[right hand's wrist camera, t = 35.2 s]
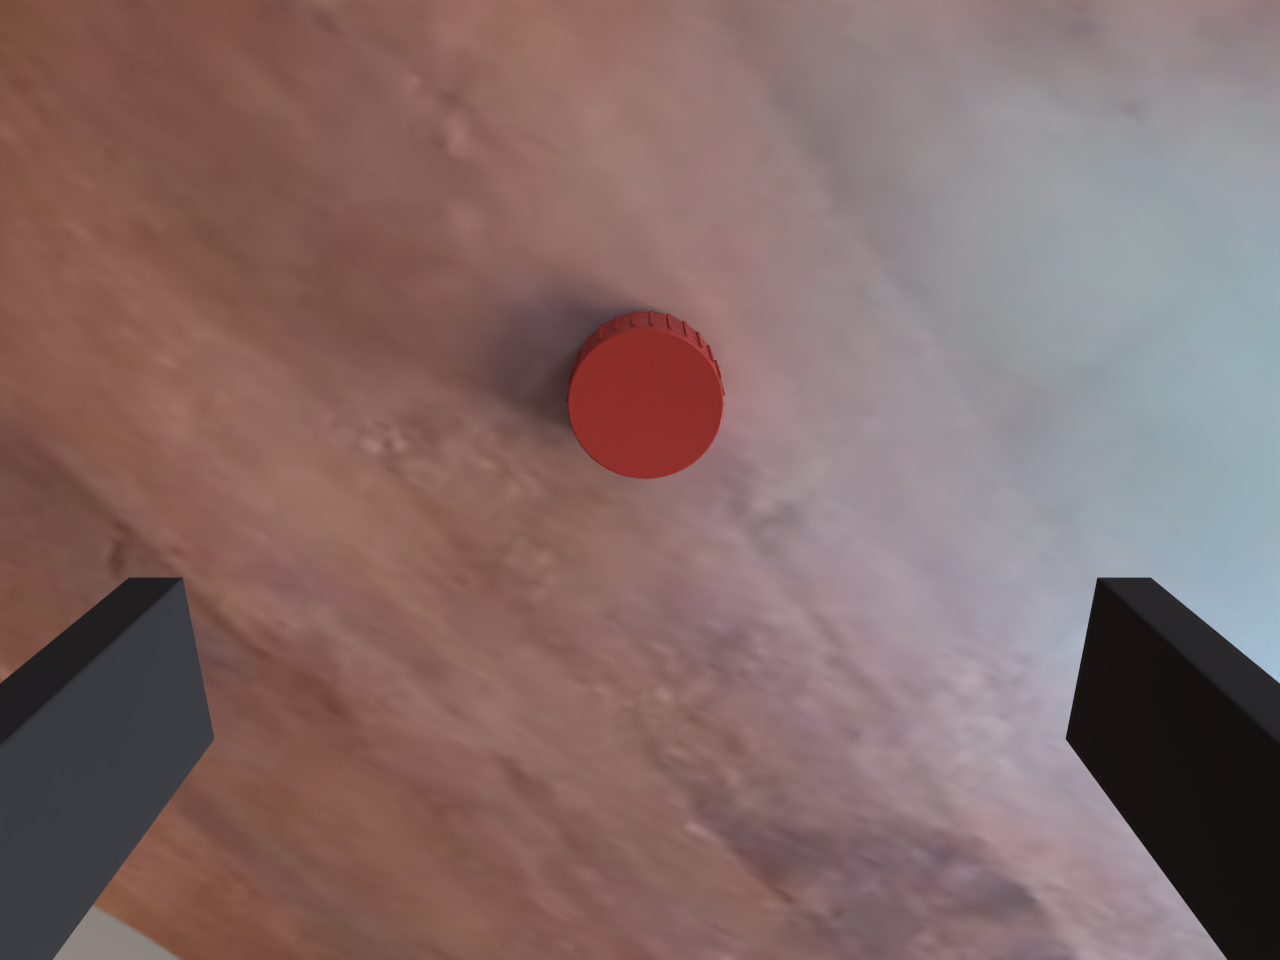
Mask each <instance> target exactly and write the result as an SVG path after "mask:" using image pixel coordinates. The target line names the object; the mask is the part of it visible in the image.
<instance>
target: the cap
mask: <svg viewBox="0 0 1280 960" xmlns="http://www.w3.org/2000/svg"><path fill="white" fill-rule="evenodd" d="M720 378H722V377H721V374H720V370H719V367H718V364H717V361H716V360H714V358H713V355H712V351H711V348H710V346H709V345H706V343H705V342H704V340H703V339H702V338H701V336H700V333H699V332H698V331H697V332H695V331H694V330H693V329H692V328H691V327H689V326H688V325H687V323H686V322H685V321H683V322H682V321H680V320H678V319H676V318H673V317H671V316H670V314H667V315H664V314H659V313H653V311H650V312H639V313H636V312H635V311H633V312H632V314H627V315H624V316H621V317H619V316H616V317H615V319H614V320H612V321H610V322H608V323H606V324H605V325H603V324H602V325H600V328H599V329H598V330H597V331H596V332H595V333H594V334H593V335H592V336H589V337H588V338H587V342H586V344H585V346H584V347H583V349H582V350H579V352H578V355H577V359H576V362H575V365H574V366H573V369H572V372H571V376H570V379H569V383H568V384H570V388H569V392H568V396H567V402H568V413H569V419H570V423H571V427H572V429H573V432H574V434H575V436H576V438H577V440H578V442H579V443H580V445H581V446H582V447H583V449H584V450H585V451H586V452H587V453H588V454H589V456H590V457H591V458H592V459H594V460H595V461H596V462H597V463H599V464H600V465H602V466H603V467H605V468H607V469H608V470H610V471H613V472H615V473H617V474H620V475H624V476H627V477H633V478H643V479H649V478H659V477H664V476H668V475H671V474H674V473H677V472H679V471H681V470H683V469H685V468H687V467H688V466H690V465H691V464H693V463H694V462H695V461H696V460H698V459H699V458H700V457H701V456H702V455H703V454H704V453H705V452H706V451H707V449H708V448H709V447H710V445H711V444H712V443H713V441H714V439H715V437H716V435H717V433H718V431H719V428H720V425H721V421H722V417H723V413H724V397H723V396H725V392H724V389H723V386H722V383H721V379H720Z"/></svg>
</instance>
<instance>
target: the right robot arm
mask: <svg viewBox="0 0 1280 960" xmlns="http://www.w3.org/2000/svg"><path fill="white" fill-rule="evenodd" d="M213 740H214V735H213V730H212V725H211V720H210V715H209V710H208V705H207V699H206V694H205V689H204V684H203V679H202V674H201V669H200V664H199V659H198V654H197V649H196V643H195V638H194V633H193V628H192V623H191V618H190V613H189V608H188V603H187V598H186V593H185V587H184V582H183V578H128V579H127V580H126V581H125V582H123V583H122V584H121V585H120V586H118V587H117V588H116V589H115V590H114V591H112V592H111V593H110V594H109V595H107V596H106V597H105V598H104V599H103V600H101V601H100V602H99V603H98V604H97V605H95V606H94V607H93V608H92V609H90V610H89V611H88V612H87V613H86V614H84V615H83V616H82V617H81V618H79V619H78V620H77V621H76V622H75V623H73V624H72V625H71V626H70V627H69V628H67V629H66V630H65V631H64V632H62V633H61V634H60V635H59V636H58V637H56V638H55V639H54V640H53V641H52V642H50V643H49V644H48V645H47V646H45V647H44V648H43V649H42V650H41V651H39V652H38V653H37V654H36V655H34V656H33V657H32V658H31V659H30V660H28V661H27V662H26V663H25V664H24V665H22V666H21V667H20V668H19V669H17V670H16V671H15V672H14V673H13V674H11V675H10V676H9V677H8V678H6V679H5V680H4V681H3V682H2V683H0V960H53V958H54V957H55V955H56V954H57V953H58V952H59V950H60V949H61V947H62V946H63V945H64V943H65V942H66V940H67V939H68V938H69V936H70V935H71V934H72V932H73V931H74V930H75V928H76V927H77V926H78V924H79V923H80V921H81V920H82V919H83V917H84V916H85V915H86V913H87V912H88V911H89V909H90V908H91V907H92V905H93V904H94V902H95V901H96V900H97V898H98V897H99V896H100V894H101V893H102V891H103V890H104V889H105V887H106V886H107V885H108V883H109V882H110V881H111V879H112V878H113V876H114V875H115V874H116V872H117V871H118V870H119V868H120V867H121V866H122V864H123V863H124V861H125V860H126V859H127V857H128V856H129V855H130V853H131V852H132V851H133V849H134V848H135V846H136V845H137V844H138V842H139V841H140V840H141V838H142V837H143V836H144V834H145V833H146V831H147V830H148V829H149V827H150V826H151V825H152V823H153V822H154V821H155V819H156V818H157V816H158V815H159V814H160V812H161V811H162V810H163V808H164V807H165V806H166V804H167V803H168V801H169V800H170V799H171V797H172V796H173V795H174V793H175V792H176V791H177V789H178V788H179V786H180V785H181V784H182V782H183V781H184V780H185V778H186V777H187V775H188V774H189V773H190V771H191V770H192V769H193V767H194V766H195V765H196V763H197V762H198V760H199V759H200V758H201V756H202V755H203V754H204V752H205V751H206V750H207V748H208V747H209V745H210V744H211V743H212V741H213ZM1066 740H1067V741H1068V743H1069V744H1070V745H1071V747H1072V748H1073V750H1074V751H1075V752H1076V754H1077V755H1078V756H1079V758H1080V759H1081V760H1082V762H1083V763H1084V765H1085V766H1086V767H1087V769H1088V770H1089V771H1090V773H1091V774H1092V775H1093V777H1094V778H1095V780H1096V781H1097V782H1098V784H1099V785H1100V786H1101V788H1102V789H1103V791H1104V792H1105V793H1106V795H1107V796H1108V797H1109V799H1110V800H1111V801H1112V803H1113V804H1114V806H1115V807H1116V808H1117V810H1118V811H1119V812H1120V814H1121V815H1122V816H1123V818H1124V819H1125V821H1126V822H1127V823H1128V825H1129V826H1130V827H1131V829H1132V830H1133V831H1134V833H1135V834H1136V836H1137V837H1138V838H1139V840H1140V841H1141V842H1142V844H1143V845H1144V846H1145V848H1146V849H1147V851H1148V852H1149V853H1150V855H1151V856H1152V857H1153V859H1154V860H1155V861H1156V863H1157V864H1158V866H1159V867H1160V868H1161V870H1162V871H1163V872H1164V874H1165V875H1166V876H1167V878H1168V879H1169V881H1170V882H1171V883H1172V885H1173V886H1174V887H1175V889H1176V890H1177V891H1178V893H1179V894H1180V896H1181V897H1182V898H1183V900H1184V901H1185V902H1186V904H1187V905H1188V907H1189V908H1190V909H1191V911H1192V912H1193V913H1194V915H1195V916H1196V917H1197V919H1198V920H1199V922H1200V923H1201V924H1202V926H1203V927H1204V928H1205V930H1206V931H1207V932H1208V934H1209V935H1210V937H1211V938H1212V939H1213V941H1214V942H1215V943H1216V945H1217V946H1218V947H1219V949H1220V950H1221V952H1222V953H1223V954H1224V956H1225V957H1226V958H1227V960H1280V683H1278V682H1277V681H1276V680H1275V679H1274V678H1272V677H1271V676H1270V675H1269V674H1267V673H1266V672H1265V671H1264V670H1263V669H1261V668H1260V667H1259V666H1258V665H1256V664H1255V663H1254V662H1253V661H1252V660H1250V659H1249V658H1248V657H1247V656H1246V655H1244V654H1243V653H1242V652H1241V651H1239V650H1238V649H1237V648H1236V647H1235V646H1233V645H1232V644H1231V643H1230V642H1228V641H1227V640H1226V639H1225V638H1224V637H1222V636H1221V635H1220V634H1219V633H1218V632H1216V631H1215V630H1214V629H1213V628H1211V627H1210V626H1209V625H1208V624H1207V623H1205V622H1204V621H1203V620H1202V619H1200V618H1199V617H1198V616H1197V615H1196V614H1194V613H1193V612H1192V611H1191V610H1190V609H1188V608H1187V607H1186V606H1185V605H1183V604H1182V603H1181V602H1180V601H1179V600H1177V599H1176V598H1175V597H1174V596H1173V595H1171V594H1170V593H1169V592H1168V591H1166V590H1165V589H1164V588H1163V587H1162V586H1160V585H1159V584H1158V583H1157V582H1155V581H1154V580H1153V579H1152V578H1097V582H1096V587H1095V593H1094V598H1093V603H1092V608H1091V613H1090V618H1089V623H1088V628H1087V633H1086V638H1085V643H1084V649H1083V654H1082V659H1081V664H1080V669H1079V674H1078V679H1077V684H1076V689H1075V694H1074V699H1073V705H1072V710H1071V715H1070V720H1069V725H1068V730H1067V735H1066Z"/></svg>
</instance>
